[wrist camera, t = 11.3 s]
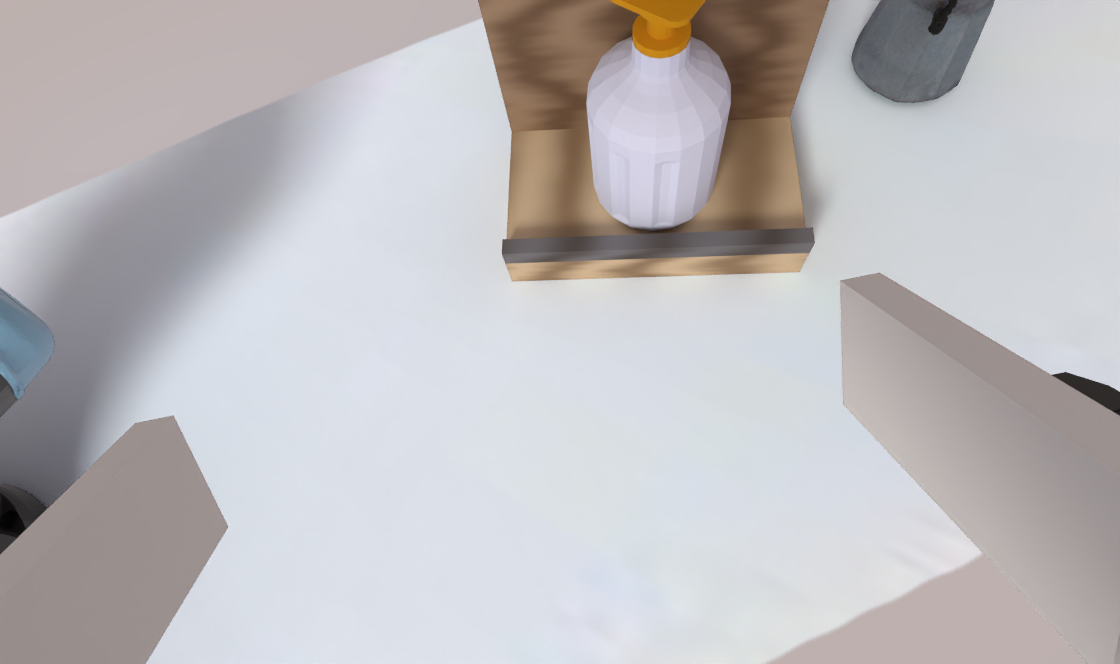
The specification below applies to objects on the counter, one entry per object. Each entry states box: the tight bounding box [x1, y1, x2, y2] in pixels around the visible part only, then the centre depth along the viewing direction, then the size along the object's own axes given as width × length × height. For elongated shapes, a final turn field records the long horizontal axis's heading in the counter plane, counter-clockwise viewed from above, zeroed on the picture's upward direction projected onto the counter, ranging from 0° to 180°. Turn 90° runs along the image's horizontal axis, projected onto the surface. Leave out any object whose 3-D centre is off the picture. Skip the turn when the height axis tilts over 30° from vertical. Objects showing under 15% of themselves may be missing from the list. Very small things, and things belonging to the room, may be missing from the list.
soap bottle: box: [586, 0, 731, 231], centre depth 39 cm, size 9×9×25 cm
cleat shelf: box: [478, 0, 829, 281], centre depth 39 cm, size 22×14×30 cm, turn 89°
